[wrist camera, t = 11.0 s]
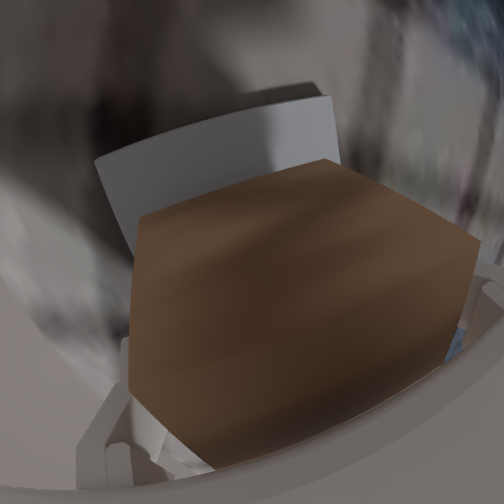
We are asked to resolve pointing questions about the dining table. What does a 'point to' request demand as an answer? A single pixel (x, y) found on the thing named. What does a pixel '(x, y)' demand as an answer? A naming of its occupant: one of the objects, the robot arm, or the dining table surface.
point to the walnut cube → (289, 307)
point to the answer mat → (215, 156)
